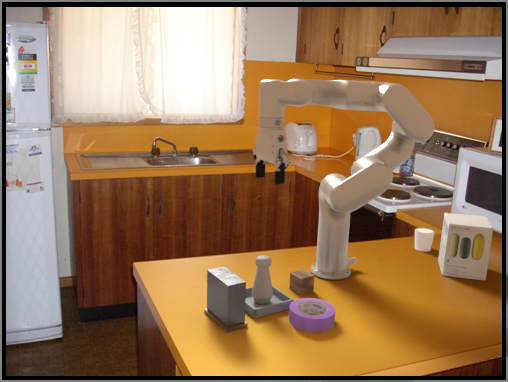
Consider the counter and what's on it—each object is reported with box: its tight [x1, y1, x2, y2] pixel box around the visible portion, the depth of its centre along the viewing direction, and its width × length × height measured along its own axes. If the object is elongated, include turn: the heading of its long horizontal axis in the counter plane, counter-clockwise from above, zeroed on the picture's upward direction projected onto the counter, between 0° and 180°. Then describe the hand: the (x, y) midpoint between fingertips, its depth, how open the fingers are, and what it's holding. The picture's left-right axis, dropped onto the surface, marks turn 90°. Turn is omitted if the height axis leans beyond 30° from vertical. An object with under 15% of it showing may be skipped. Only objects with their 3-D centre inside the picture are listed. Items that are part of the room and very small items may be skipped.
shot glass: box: [414, 227, 436, 253], centre depth 187 cm, size 7×7×7 cm
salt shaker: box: [252, 254, 273, 305], centre depth 140 cm, size 6×6×13 cm
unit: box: [203, 266, 249, 333], centre depth 131 cm, size 6×12×12 cm, turn 32°
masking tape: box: [288, 297, 336, 333], centre depth 133 cm, size 12×12×4 cm
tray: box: [245, 284, 295, 319], centre depth 142 cm, size 12×12×2 cm
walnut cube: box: [289, 269, 315, 295], centre depth 151 cm, size 5×5×5 cm
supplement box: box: [437, 212, 494, 281], centre depth 167 cm, size 13×13×18 cm
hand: (269, 180), depth 155 cm, fingers open, 9 cm apart
